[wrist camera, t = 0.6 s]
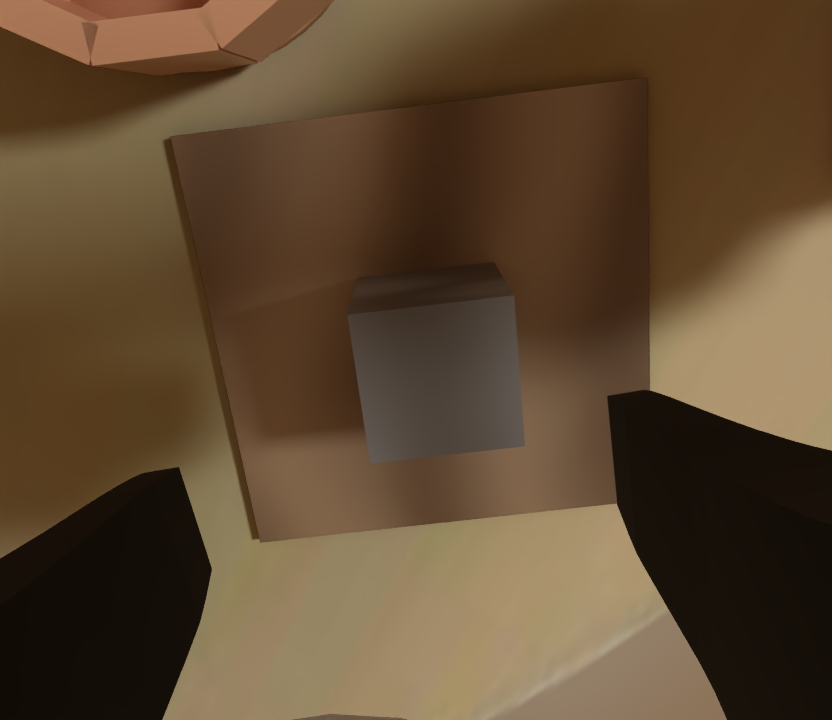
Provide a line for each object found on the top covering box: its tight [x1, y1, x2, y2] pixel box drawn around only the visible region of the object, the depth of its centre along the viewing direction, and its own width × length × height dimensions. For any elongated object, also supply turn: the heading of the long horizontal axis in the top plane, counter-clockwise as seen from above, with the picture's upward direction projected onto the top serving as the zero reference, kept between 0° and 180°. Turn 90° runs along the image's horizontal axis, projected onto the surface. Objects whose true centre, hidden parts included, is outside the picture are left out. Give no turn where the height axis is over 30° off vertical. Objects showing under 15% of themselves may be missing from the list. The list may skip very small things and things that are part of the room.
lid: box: [170, 77, 650, 543], centre depth 20 cm, size 13×13×5 cm
